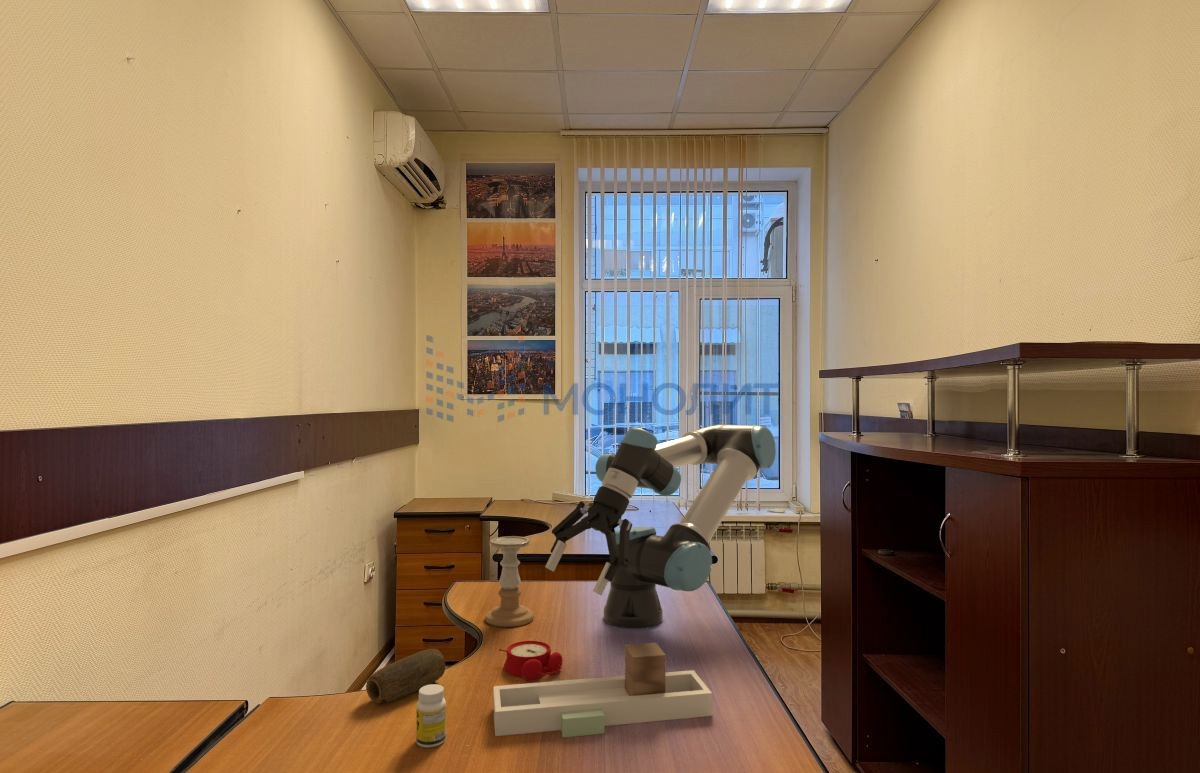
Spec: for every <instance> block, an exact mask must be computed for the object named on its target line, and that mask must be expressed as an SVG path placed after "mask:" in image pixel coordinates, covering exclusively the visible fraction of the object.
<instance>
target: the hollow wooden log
mask: <svg viewBox="0 0 1200 773" xmlns="http://www.w3.org/2000/svg"><path fill="white" fill-rule="evenodd" d="M445 672H446V659H445V656H443V654H442V652H441V651H440V650H439V649H437V648H427V649H423V650H420V651H418V652H415V653H413V654H410V655H408V656H405V657H403V658H401V659H398V660H397V661H395V662H392V663H390V664H388V665H386V666H384V667H382V668H380V669H379V670H377V671H375V672H373V673H372V674H371V675H370V676H369V678H368V679H367V681H366V685H365V690H366V693H367V696H368V697H369V699H370V700H371V701H373V702H375V703H377V704H382V703H390V702H393V701H396V700H398V699H401V698H404V697H406V696H408V695H410V694H413V693H414V692H415V693H416V692H417V691H419V690H420V688H422V687H423V686H426V685H431V684H434V682H436V681H438V680H439V679H441V678H442V677H443V676H444V674H445Z"/></svg>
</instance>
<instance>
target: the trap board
mask: <svg viewBox="0 0 1200 773" xmlns="http://www.w3.org/2000/svg"><path fill="white" fill-rule="evenodd" d="M577 679H578V680H574V679H564V680H565V681H561V680H552V681H553V682H552V681H543V682H542V681H541V682H529V683H517V684H506V685H494V686H493V699H492V700H493V702H492V703H493V708H492V709H493V723H494V724H493V726H494V736H495V737H501V736H512V735H523V734H533V733H542V732H543V733H544V732H555V731H561V712H568V711H579V710H591V709H602V711H603V713H604V727H608V726H618V725H627V724H630V725H631V724H638V723H641V724H642V723H651V722H661V721H672V720H682V719H692V718H704V717H712V716H713V692H712V691H711V690H710V688H708V686H707V685H706V684H705V682H704V681H703V680H702V678H700V677H699V675H698V674H697V673H696V671H695V670H694V669H693V670H681V671H680V670H679V671H669V672H667V671H665V693H661V694H649V695H638V696H629V695H628V693H627V692H626V690H625V675H615V676H606V677H594V678H593V677H591V678H589V679H586V678H577Z"/></svg>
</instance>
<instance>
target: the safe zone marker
mask: <svg viewBox="0 0 1200 773" xmlns="http://www.w3.org/2000/svg"><path fill="white" fill-rule="evenodd" d="M578 679H579V678H577V679H573V680H578ZM585 679H590V678H589V677H588V678H585ZM565 680H566V679H563V680H562V679H561V680H560V681H565ZM553 681H554V680H552V681H551V682H553ZM560 731H561V735H562V738H571V737H572V738H573V737H582V736H592V735H602V734H605V726H604V713H603V711H602V709H591V710H579V711H568V712H561V730H560Z"/></svg>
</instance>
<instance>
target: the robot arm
mask: <svg viewBox="0 0 1200 773" xmlns="http://www.w3.org/2000/svg"><path fill="white" fill-rule="evenodd" d="M619 444H620V445H619V446H618V448H617V450H616V453H615V454H614V453H605V454H601V455H600V456H599V458H597V460H596V464H595V475H596V477H597V479H598V480H599V482H601V486H599V487H598V489H597V491H596V494H595V495H594V497H593V502H592V504H591V505H590V506H589V505H588V504H586V502H583V501H582V500H581V501H579V502H578V504H577V505H576V507H575V508H574V510H572V511H571V512H570V513H569V514H567V516H566V517H565V518H563V519H562V520H561V521H560V522H559V523H558V524H556V525H555V527H553V529H551V533H552V534H553V536H554V537H555V541H554V543H553V545H552V547H551V549H550V553H551V555H550V556H549V559H548V560H547V562H546V564H545V566H544V567H545V569H548V570H549V571H551V572H553V573H554V572H555V570H556V568H557V566H558V564H559V562H560V560H561V558H562V556H563V554H564V552H565V550H566V548H567V546H568V544H567V542H568V541H570V540H571V539H572V538H574V537H576V536H577V535H579V534H581V533H583V532H584V531H587V530H590V529H593V530H594V531H598V532H600V533H601V534H604V535H605V539H606V544H607V550H608V554H609V561H606V562H605V565H604V567H603V569H602V571H601V573H600V575H599V577H598V579H597V582H596V584H595V586H594V587H593V590H592V592H594V594H595V593H596V594H597V595H599V596H602V595H603V593H604V591H605V589H606V587H607V585H608V582H610V587H609V588H610V589H609V593H608V595H607V599H606V603H605V605H604V607H603V620H604V621H605V622H606V623H608V624H610V625H612V626H615V627H620V628H629V629H637V628H638V629H639V628H649V627H653V626H656V625H658V624H660V623H661V622H662V621H663V607H662V606H661V602H660V601H661V600H660V598H659V595H658V592H657V588H656V586H661V587H666V588H669V589H671V590H674V591H683V592H693V591H696V590H698V589H700V588H701V587H702V586H703V585H704V584H705V583H706V582H707V580H708V578H709V577H710V574H711V572H712V568H711V566H712V565H713V557H712V556H713V555H712V552H711V551H712V547H711V544H710V541H711V540H712V538H713V537H714V535H715V533H716V531H717V530H718V529H719V527H720V525H721V523H722V521H723V519H724V518H725V516H726V514H727V513H728V511H729V510H730V508H731V506H732V505H733V503H734V501H735V500H736V497H738V494H739V492H740V491H741V489H742V488H743V486H744V485H745V483H746V481H750V480H753V479H754V478H755V477H756V475H757V473H759V470H760V469H763V470H766V469H771V467H772V466H773V465H774V463H775V460H776V459H775V458H776V453H777V452H776V450H777V449H776V442H775V437H774V435H773V433H772V432H771V430H770V429H769V428H768V427H766V426H764V425H757V424H753V425H741V424H714V425H711V426H710V425H709V426H706V427H702V428H698V429H696V430H692V431H688V432H685V433H684V434H683V435H682V436H681V437H680V438H676V439H672V440H668V441H664V442H661V443H658V439H657V436H656V435H654V434H652V433H651V432H650V431H647V430H646V429H643V428H640V427H635V426H634V427H630V428H629V429H627V432H626V433H625V435H624V437H623V438H622V440H621V441H620V443H619ZM702 464H708V465H709V464H711V465H716V466H715V468H714V469H713V471H712V473H711V474H710V475H709V477H708V479H707V480H706V482H705V483H704V485H703V486H702V488H701V489H700V491H699V493H698V495H697V496H696V497H695V498H694V501H693V502H692V503H691V505H690V507H689V508H688V509H687V511H686V513H685V514H684V516H683V517H682V519H681V521H680V522H679V523H674V524H672V525H670V527H669V528H668V530H667V531H666V533H665V534H664V535H663V536H661V535H657V531H656V528H655V527H653V526H634V527H632V526H633V523H632V522H631V521H630V520H628V519H627V518H624V519H622V517H623V515H624V514H625V513H626V511H627V509H628V506H629V504H630V499H631V498H633V496H634V493H635V492H636V490H637V488H640V489H641V488H642V489H649V490H652V491H653V492H654V493H655V494H658V495H659V496H662V497H669V496H672V495H673V494H675V492H677V491H678V489H679V488H680V485H681V482H682V475H681V473H680V471H679V470H678V469H677V468H680V467H683V466H687V465H693V466H698V465H702ZM584 515H586V516H584ZM582 517H583V518H582ZM578 521H579V522H578ZM617 527H619V529H616V528H617Z"/></svg>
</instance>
